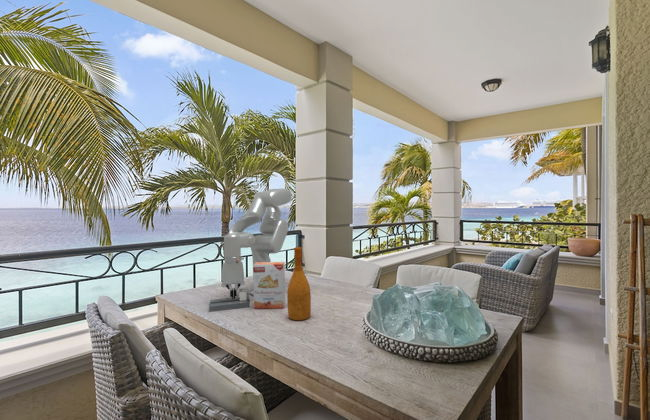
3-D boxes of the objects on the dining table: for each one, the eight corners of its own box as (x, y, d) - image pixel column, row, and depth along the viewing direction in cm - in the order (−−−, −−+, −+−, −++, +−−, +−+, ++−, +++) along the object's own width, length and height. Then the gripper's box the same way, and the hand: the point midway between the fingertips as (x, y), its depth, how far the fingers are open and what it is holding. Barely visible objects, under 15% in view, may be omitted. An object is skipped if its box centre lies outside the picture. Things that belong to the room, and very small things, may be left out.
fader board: (248, 300, 157) (248, 292, 157) (250, 307, 147) (249, 298, 147) (210, 305, 151) (210, 296, 151) (209, 311, 142) (209, 303, 142)
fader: (245, 298, 154) (245, 288, 154) (246, 301, 149) (246, 290, 149) (239, 299, 153) (239, 288, 153) (239, 302, 148) (239, 291, 148)
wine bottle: (314, 314, 136) (312, 245, 135) (305, 322, 127) (304, 248, 126) (293, 312, 139) (292, 245, 139) (283, 320, 130) (282, 248, 129)
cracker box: (253, 309, 144) (252, 264, 144) (256, 305, 150) (255, 261, 150) (284, 308, 144) (282, 263, 144) (285, 304, 150) (284, 261, 150)
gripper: (248, 257, 155) (248, 294, 156) (216, 259, 151) (217, 297, 151) (249, 260, 148) (250, 298, 148) (216, 262, 144) (216, 302, 144)
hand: (233, 298), depth 150 cm, fingers closed
